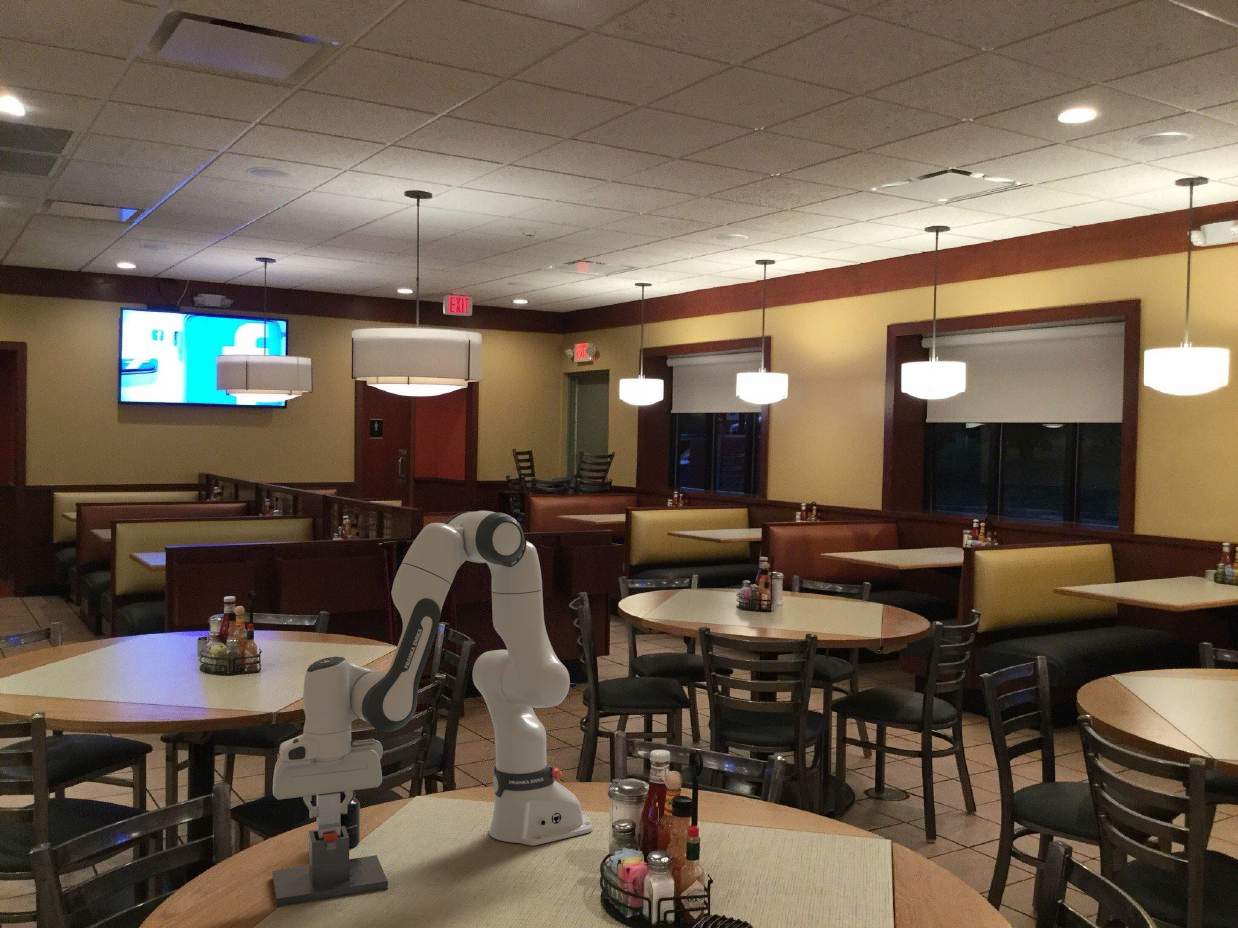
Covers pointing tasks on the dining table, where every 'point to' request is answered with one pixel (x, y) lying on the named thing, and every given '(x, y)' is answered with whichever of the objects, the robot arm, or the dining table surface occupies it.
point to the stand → (328, 873)
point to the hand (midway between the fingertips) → (328, 815)
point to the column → (328, 815)
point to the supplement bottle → (351, 819)
